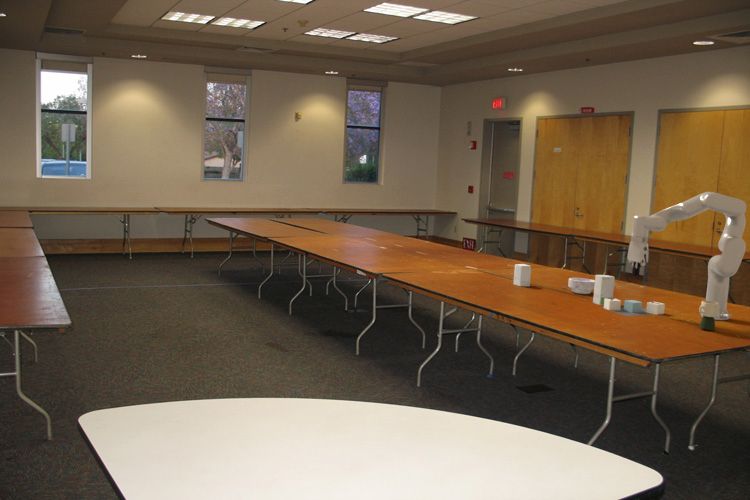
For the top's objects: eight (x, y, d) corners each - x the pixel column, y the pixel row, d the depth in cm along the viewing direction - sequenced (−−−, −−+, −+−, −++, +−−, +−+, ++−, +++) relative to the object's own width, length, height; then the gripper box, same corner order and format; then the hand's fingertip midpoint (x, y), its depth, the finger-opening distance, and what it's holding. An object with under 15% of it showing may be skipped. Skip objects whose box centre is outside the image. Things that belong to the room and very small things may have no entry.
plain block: (641, 312, 335) (642, 302, 334) (632, 312, 333) (633, 302, 332) (632, 309, 340) (633, 300, 340) (623, 309, 338) (624, 300, 338)
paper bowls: (591, 291, 391) (592, 278, 390) (597, 296, 376) (598, 282, 375) (565, 289, 393) (566, 276, 392) (570, 294, 378) (571, 280, 377)
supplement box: (530, 286, 399) (531, 265, 397) (519, 286, 396) (521, 265, 395) (523, 284, 406) (524, 263, 404) (512, 284, 403) (514, 264, 401)
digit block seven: (620, 310, 337) (621, 300, 336) (609, 310, 336) (609, 300, 335) (614, 307, 343) (615, 298, 342) (603, 307, 342) (604, 297, 341)
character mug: (711, 327, 309) (713, 300, 307) (722, 331, 302) (725, 303, 300) (691, 328, 306) (694, 300, 304) (703, 332, 299) (706, 304, 297)
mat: (663, 314, 333) (664, 313, 333) (626, 316, 324) (626, 316, 324) (637, 307, 349) (638, 306, 349) (601, 308, 341) (601, 308, 341)
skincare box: (599, 305, 349) (601, 276, 347) (592, 303, 355) (594, 274, 353) (612, 305, 351) (615, 276, 349) (605, 302, 357) (608, 274, 355)
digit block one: (663, 313, 333) (664, 303, 333) (656, 314, 330) (657, 304, 330) (653, 311, 338) (654, 301, 338) (646, 312, 335) (647, 302, 335)
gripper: (656, 241, 326) (652, 278, 329) (634, 238, 340) (630, 273, 343) (644, 241, 324) (640, 278, 326) (622, 238, 337) (619, 273, 340)
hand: (635, 275), depth 334 cm, fingers closed
